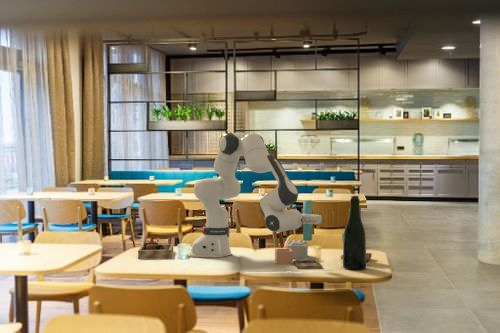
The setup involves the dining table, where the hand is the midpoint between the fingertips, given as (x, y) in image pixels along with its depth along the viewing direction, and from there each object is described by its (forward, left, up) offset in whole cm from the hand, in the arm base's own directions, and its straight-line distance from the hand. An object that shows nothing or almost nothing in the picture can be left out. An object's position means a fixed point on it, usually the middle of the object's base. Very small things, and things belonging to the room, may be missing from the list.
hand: (308, 216), depth 283 cm
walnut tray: (-1, -1, -23) cm, 23 cm away
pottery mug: (-74, +32, -24) cm, 84 cm away
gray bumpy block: (-2, +23, -24) cm, 33 cm away
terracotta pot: (-11, +8, -23) cm, 27 cm away
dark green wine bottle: (+20, -4, -23) cm, 31 cm away
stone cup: (+25, +14, -24) cm, 38 cm away
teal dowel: (-1, -1, -11) cm, 11 cm away
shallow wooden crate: (-73, +34, -23) cm, 84 cm away
